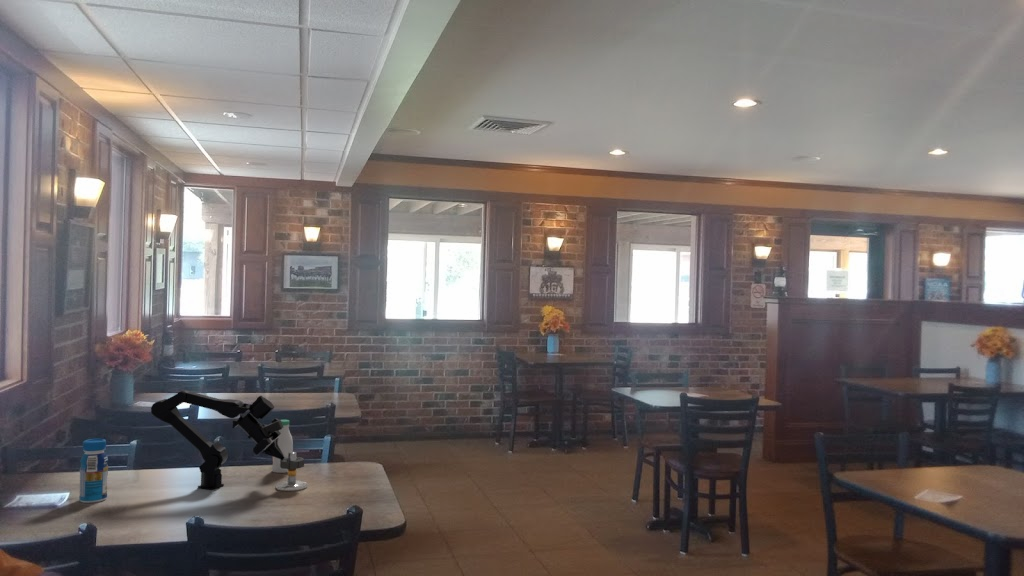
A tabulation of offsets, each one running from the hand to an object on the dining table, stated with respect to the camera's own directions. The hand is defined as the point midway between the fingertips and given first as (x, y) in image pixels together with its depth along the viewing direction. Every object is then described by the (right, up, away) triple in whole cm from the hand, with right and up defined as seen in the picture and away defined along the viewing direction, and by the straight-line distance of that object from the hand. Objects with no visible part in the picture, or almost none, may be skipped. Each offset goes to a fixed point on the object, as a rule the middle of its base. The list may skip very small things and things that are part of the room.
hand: (283, 458), depth 270 cm
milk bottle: (-8, -10, +23) cm, 27 cm away
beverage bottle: (-57, -9, -21) cm, 62 cm away
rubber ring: (+3, -3, 0) cm, 4 cm away
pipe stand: (+3, -10, 0) cm, 11 cm away
